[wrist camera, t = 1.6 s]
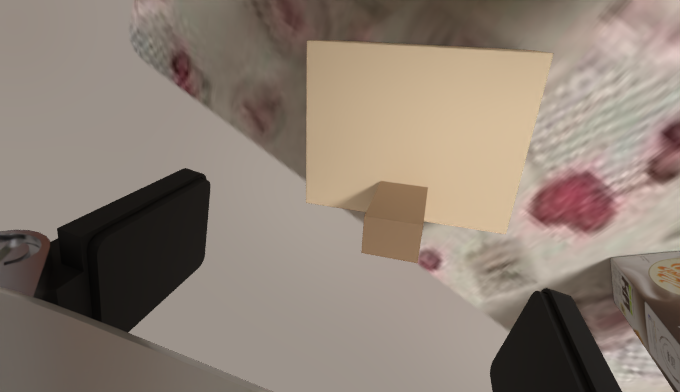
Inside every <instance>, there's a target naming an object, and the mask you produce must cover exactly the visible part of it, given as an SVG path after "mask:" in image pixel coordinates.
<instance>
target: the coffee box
mask: <svg viewBox="0 0 680 392" xmlns="http://www.w3.org/2000/svg"><path fill="white" fill-rule="evenodd" d="M611 273H612V285H613V296H614V302H615V304H616V305H617V306H618V308H619V309H620V311H621V312H622V314H623V315H624V316H625V318H626V319H627V321H628V323H629V324H630V326H631V327H632V329H633V330H634V332H635V333H636V335H637V336H638V338H639V339H640V341H641V342H642V344H643V345H644V347H645V348H646V350H647V351H648V353H649V354H650V356H651V357H652V359H653V360H654V362H655V363H656V365H657V366H658V368H659V369H660V371H661V372H662V374H663V375H664V377H665V378H666V380H667V381H668V383H669V384H670V386H671V387H672V389H673V390H674V392H680V251H675V252H664V253H654V254H644V255H634V256H624V257H614V258H611Z"/></svg>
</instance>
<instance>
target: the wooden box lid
mask: <svg viewBox="0 0 680 392" xmlns="http://www.w3.org/2000/svg"><path fill="white" fill-rule="evenodd" d="M552 57H553V53H537V52H518V51H498V50H479V49H460V48H441V47H421V46H402V45H383V44H364V43H344V42H325V41H307V121H306V203H311V204H317V205H324V206H330V207H337V208H343V209H349V210H355V211H362V212H366V214H365V216H364V227H363V240H362V253H365V254H371V255H376V256H382V257H387V258H393V259H398V260H403V261H409V262H414V263H417V262H418V256H419V249H420V243H421V236H422V230H423V223H424V221H425V222H432V223H438V224H444V225H451V226H457V227H463V228H470V229H476V230H482V231H489V232H495V233H501V234H506V232H507V228H508V224H509V220H510V217H511V213H512V209H513V205H514V201H515V198H516V194H517V190H518V186H519V183H520V179H521V175H522V171H523V167H524V164H525V160H526V156H527V152H528V148H529V145H530V141H531V137H532V133H533V129H534V126H535V122H536V118H537V114H538V111H539V107H540V103H541V99H542V95H543V92H544V88H545V84H546V80H547V76H548V73H549V69H550V65H551V61H552Z"/></svg>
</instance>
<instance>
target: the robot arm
mask: <svg viewBox="0 0 680 392" xmlns="http://www.w3.org/2000/svg"><path fill="white" fill-rule="evenodd" d="M209 197H210V182H209V181H207V180H206V176H205V175H204V174H202V173H199V172H195V171H193V170H190V169H186V168H185V169H182V170H179V171H177V172H175V173H173V174H171V175H169V176H167V177H165V178H163V179H160V180H158V181H156V182H154V183H152V184H150V185H148V186H146V187H144V188H141V189H139V190H137V191H135V192H133V193H131V194H129V195H127V196H125V197H122V198H120V199H118V200H116V201H114V202H112V203H110V204H108V205H106V206H103V207H101V208H99V209H97V210H95V211H93V212H91V213H89V214H87V215H84V216H82V217H80V218H78V219H76V220H74V221H72V222H70V223H68V224H66V225H63V226H61V227H59V228H57V231H58V239H56V240H54V241H52V242H50V240H49V239H48V238H47V236H45V235H43V234H41V233H39V232H35V231H30V230H8V231H0V392H273V391H270V390H268V389H265V388H263V387H260V386H258V385H256V384H253V383H251V382H248V381H246V380H243V379H241V378H238V377H236V376H233V375H231V374H229V373H226V372H223V371H221V370H219V369H217V368H214V367H212V366H209V365H207V364H204V363H202V362H199V361H197V360H194V359H192V358H189V357H187V356H184V355H182V354H179V353H177V352H174V351H172V350H169V349H167V348H164V347H162V346H159V345H157V344H155V343H152V342H150V341H147V340H145V339H142V338H139V337H137V336H134V335H132V334H130V333H128V332H129V331H130V330H131V329H132V328H133V327H135V326H136V325H137V324H138V323H139V322H140V321H141V320H142V319H143V318H144V317H145V316H147V315H148V314H149V313H150V312H151V311H152V310H153V309H154V308H155V307H156V306H157V305H159V304H160V303H161V302H162V301H163V300H164V299H165V298H166V297H167V296H168V295H169V294H171V293H172V291H174V290H175V289H176V288H177V287H178V286H179V285H180V284H182V283H183V282H184V281H185V280H186V279H187V278H188V277H189V276H190V275H191V274H192V273H193V272H195V271H196V270H197V269H198V268H199V267H200V266H201V264H202V262H203V260H204V257H205V246H206V234H207V222H208V221H207V220H208V210H209V209H208V208H209ZM490 377H491V384H492V390H493V392H622V391H621V389H620V387H619V385H618V383H617V381H616V379H615V378H614V376H613V374H612V372H611V370H610V368H609V366H608V364H607V362H606V361H605V359H604V357H603V355H602V353H601V351H600V349H599V347H598V346H597V344H596V342H595V340H594V338H593V336H592V334H591V332H590V330H589V329H588V327H587V325H586V323H585V321H584V319H583V317H582V315H581V314H580V312H579V310H578V308H577V306H576V304H575V302H574V300H573V299H572V297H571V296H569V295H566V294H563V293H560V292H557V291H554V290H551V289H548V288H545V289H543V290H542V291H541V292H539V291H535V292H534V293H533V294H532V295H531V297H530V299H529V300H528V302H527V304H526V306H525V307H524V309H523V311H522V312H521V314H520V316H519V317H518V319H517V321H516V323H515V324H514V326H513V328H512V329H511V331H510V333H509V335H508V336H507V338H506V340H505V341H504V343H503V345H502V346H501V348H500V350H499V352H498V353H497V355H496V357H495V358H494V360H493V362H492V365H491V369H490Z"/></svg>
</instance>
